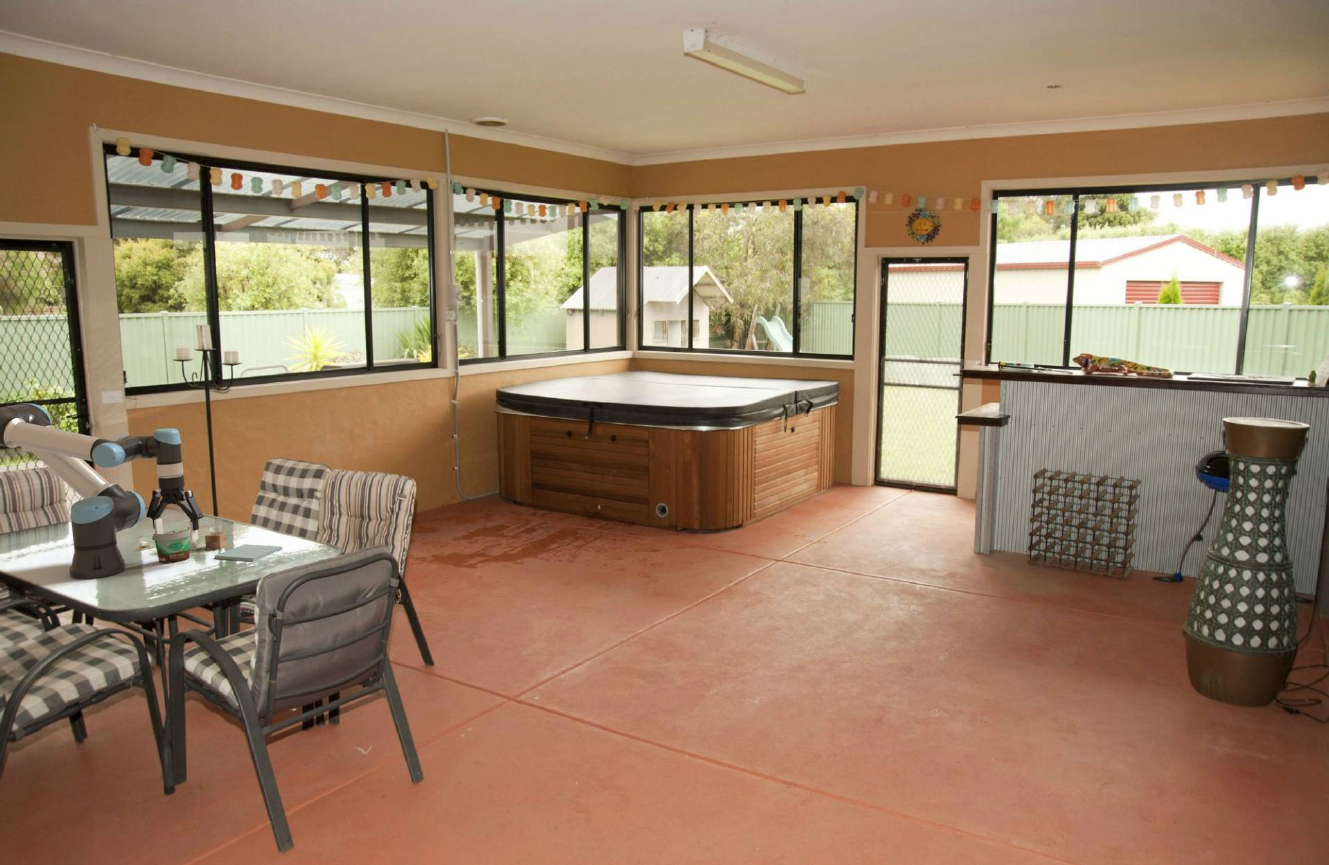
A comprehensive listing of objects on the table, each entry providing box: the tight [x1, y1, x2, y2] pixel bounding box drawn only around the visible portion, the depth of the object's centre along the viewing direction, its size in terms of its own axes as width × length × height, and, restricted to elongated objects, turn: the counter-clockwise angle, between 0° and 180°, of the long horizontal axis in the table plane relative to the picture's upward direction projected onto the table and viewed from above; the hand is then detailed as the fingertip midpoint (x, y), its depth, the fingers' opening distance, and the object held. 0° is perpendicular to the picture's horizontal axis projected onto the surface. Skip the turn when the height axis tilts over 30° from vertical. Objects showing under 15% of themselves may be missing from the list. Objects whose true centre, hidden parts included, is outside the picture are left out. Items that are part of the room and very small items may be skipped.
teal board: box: [214, 543, 283, 562], centre depth 315 cm, size 15×15×1 cm
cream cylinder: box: [178, 527, 198, 552], centre depth 321 cm, size 5×5×7 cm
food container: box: [152, 526, 191, 564], centre depth 307 cm, size 12×6×10 cm, turn 143°
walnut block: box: [204, 531, 228, 550], centre depth 323 cm, size 5×5×5 cm
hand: (177, 539), depth 307 cm, fingers open, 13 cm apart
